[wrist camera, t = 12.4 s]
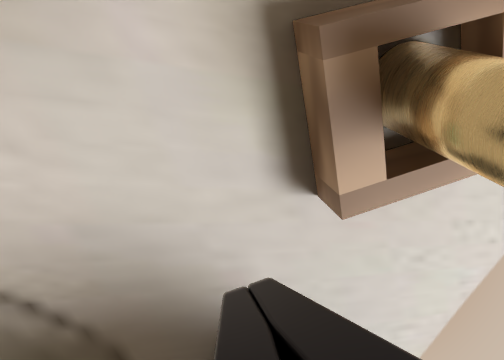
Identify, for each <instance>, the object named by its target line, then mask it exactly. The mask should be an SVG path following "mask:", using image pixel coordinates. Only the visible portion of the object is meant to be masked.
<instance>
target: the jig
mask: <svg viewBox="0 0 504 360" xmlns="http://www.w3.org/2000/svg"><path fill="white" fill-rule="evenodd" d="M458 24H461V50H466V51H471V52H476V53H481V54H486V55H492V56H497V57H502V58H504V0H375V1H371V2H367V3H363V4H359V5H355V6H350V7H346V8H342V9H338V10H334V11H330V12H326V13H322V14H318V15H314V16H310V17H306V18H302V19H298V20H294V21H293V27H294V33H295V40H296V47H297V54H298V61H299V68H300V75H301V82H302V89H303V96H304V103H305V110H306V117H307V124H308V131H309V138H310V145H311V152H312V159H313V166H314V173H315V180H316V187H317V194H318V197H319V198H320V199H321V200H322V201H323V202H324V203H326V204H327V205H328V206H329V207H330V208H331V209H332V210H333V211H334V212H335V213H336V214H337V215H338V216H339V217H340V218H341V219H342V220H344V219H347V218H350V217H352V216H355V215H358V214H361V213H364V212H367V211H370V210H373V209H376V208H379V207H382V206H385V205H388V204H391V203H394V202H397V201H400V200H403V199H406V198H408V197H411V196H414V195H417V194H420V193H423V192H426V191H429V190H432V189H435V188H438V187H441V186H444V185H447V184H450V183H453V182H456V181H459V180H461V179H464V178H467V177H470V176H473V175H476V174H477V173H475V172H473V171H471V170H469V169H467V168H465V167H463V166H461V165H459V164H458V163H456V162H454V161H452V160H450V159H448V158H446V157H444V156H442V155H440V154H438V153H436V152H434V151H432V150H430V149H428V148H426V147H424V146H422V145H420V144H418V143H416V142H412V143H409V144H406V145H403V146H400V147H397V148H393V149H390V150H387V151H385V147H384V133H383V118H382V104H381V90H380V75H379V61H378V46H379V45H383V44H386V43H390V42H394V41H398V40H401V39H405V38H409V37H413V36H416V35H420V34H424V33H428V32H431V31H435V30H439V29H443V28H446V27H450V26H454V25H458Z"/></svg>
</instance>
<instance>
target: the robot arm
mask: <svg viewBox="0 0 504 360" xmlns="http://www.w3.org/2000/svg"><path fill="white" fill-rule="evenodd" d="M214 360H421V359H419V358H418V357H416V356H414V355H412V354H410V353H408V352H407V351H405V350H403V349H401V348H399V347H397V346H395V345H394V344H392V343H390V342H388V341H386V340H384V339H383V338H381V337H379V336H377V335H375V334H373V333H371V332H370V331H368V330H366V329H364V328H362V327H360V326H359V325H357V324H355V323H353V322H351V321H349V320H348V319H346V318H344V317H342V316H340V315H338V314H336V313H335V312H333V311H331V310H329V309H327V308H325V307H324V306H322V305H320V304H318V303H316V302H314V301H312V300H311V299H309V298H307V297H305V296H303V295H301V294H300V293H298V292H296V291H294V290H292V289H290V288H288V287H287V286H285V285H283V284H281V283H279V282H277V281H276V280H274V279H272V278H265V279H263V280H260V281H257V282H254V283H251V284H249V286H248V288H247V287H240V288H237V289H234V290H231V291H229V292H226V293H225V294H224V296H223V300H222V306H221V313H220V320H219V326H218V333H217V340H216V347H215V353H214Z"/></svg>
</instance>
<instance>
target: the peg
mask: <svg viewBox="0 0 504 360" xmlns="http://www.w3.org/2000/svg"><path fill="white" fill-rule="evenodd" d="M379 75H380V90H381V104H382V118H383V126H385V127H387V128H389V129H391V130H393V131H395V132H396V133H398V134H400V135H402V136H404V137H406V138H408V139H410V140H412V141H414V142H416V143H418V144H420V145H422V146H424V147H426V148H428V149H430V150H432V151H434V152H436V153H438V154H440V155H442V156H444V157H446V158H448V159H450V160H452V161H454V162H456V163H458V164H459V165H461V166H463V167H465V168H467V169H469V170H471V171H473V172H475V173H477V174H479V175H481V176H483V177H485V178H487V179H489V180H491V181H493V182H495V183H497V184H499V185H501V186H503V187H504V58H502V57H497V56H492V55H486V54H481V53H476V52H471V51H466V50H461V49H455V48H450V47H445V46H440V45H435V44H429V43H424V42H419V41H409V42H404V43H401V44H399V45H397V46H395V47H393V48H392V49H390V50H389V51H388V52H387V53H385V54H384V55H383V56H382V58H381V59H380V60H379Z"/></svg>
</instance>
